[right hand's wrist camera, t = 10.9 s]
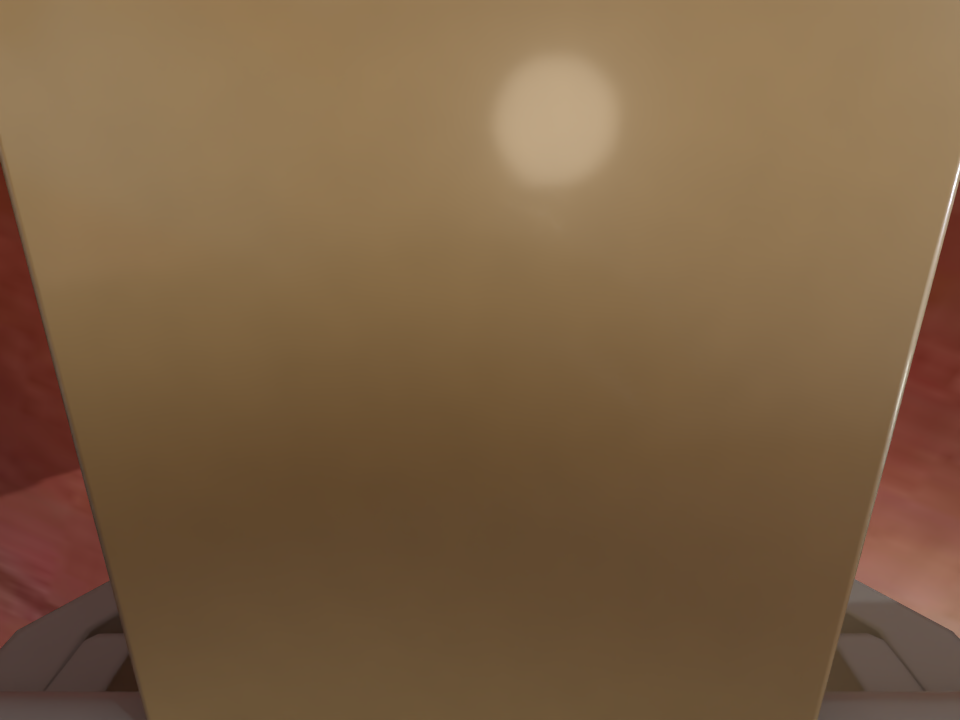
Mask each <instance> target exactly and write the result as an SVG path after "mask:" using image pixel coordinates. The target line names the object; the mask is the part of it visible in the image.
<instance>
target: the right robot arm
mask: <svg viewBox="0 0 960 720" xmlns="http://www.w3.org/2000/svg"><path fill="white" fill-rule="evenodd" d="M0 720H146V717H145V713H144V709H143V705H142V701H141V698H140V694H139V690H138V686H137V682H136V678H135V675H134V671H133V667H132V663H131V659H130V655H129V652H128V648H127V644H126V640H125V636H124V633H123V629H122V625H121V621H120V617H119V613H118V610H117V606H116V602H115V598H114V594H113V590H112V587H111V583H110V581H108V582H106V583H105V584H103V585H101V586H99V587H97V588H95V589H93V590H92V591H90V592H88V593H86V594H84V595H82V596H80V597H79V598H77V599H75V600H73V601H71V602H69V603H67V604H66V605H64V606H62V607H60V608H58V609H56V610H54V611H53V612H51V613H49V614H47V615H45V616H43V617H41V618H40V619H38V620H36V621H34V622H32V623H30V624H28V625H26V626H25V627H23V628H21V629H19V630H17V631H16V632H15V633H14V634H13V636H12V637H11V638H10V639H9V640H8V641H7V642H6V643H5V644H4V646H3V647H2V648H1V649H0ZM818 720H960V639H959V638H958V637H957V636H956V635H955V634H954V633H953V632H952V631H951V630H949V629H947V628H945V627H943V626H941V625H939V624H937V623H936V622H934V621H932V620H930V619H928V618H926V617H924V616H923V615H921V614H919V613H917V612H915V611H913V610H911V609H909V608H908V607H906V606H904V605H902V604H900V603H898V602H896V601H894V600H893V599H891V598H889V597H887V596H885V595H883V594H881V593H879V592H878V591H876V590H874V589H872V588H870V587H868V586H866V585H865V584H863V583H861V582H859V581H857V580H855V579H854V583H853V586H852V590H851V594H850V598H849V602H848V605H847V609H846V613H845V617H844V621H843V625H842V628H841V632H840V636H839V640H838V644H837V647H836V651H835V655H834V659H833V663H832V666H831V670H830V674H829V678H828V682H827V685H826V689H825V693H824V697H823V701H822V704H821V708H820V712H819V716H818Z"/></svg>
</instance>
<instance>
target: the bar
mask: <svg viewBox="0 0 960 720" xmlns="http://www.w3.org/2000/svg"><path fill="white" fill-rule="evenodd" d="M0 162H1V165H2V169H3V173H4V177H5V181H6V185H7V188H8V192H9V196H10V200H11V204H12V208H13V211H14V215H15V219H16V223H17V227H18V231H19V234H20V238H21V242H22V246H23V250H24V253H25V257H26V261H27V265H28V269H29V273H30V276H31V280H32V284H33V288H34V292H35V296H36V299H37V303H38V307H39V311H40V315H41V319H42V322H43V326H44V330H45V334H46V338H47V342H48V345H49V349H50V353H51V357H52V361H53V365H54V368H55V372H56V376H57V380H58V384H59V387H60V391H61V395H62V399H63V403H64V407H65V410H66V414H67V418H68V422H69V426H70V430H71V433H72V437H73V441H74V445H75V449H76V453H77V456H78V460H79V464H80V468H81V472H82V476H83V479H84V483H85V487H86V491H87V495H88V499H89V502H90V506H91V510H92V514H93V518H94V521H95V525H96V529H97V533H98V537H99V541H100V544H101V548H102V552H103V556H104V560H105V564H106V567H107V571H108V575H109V579H110V583H111V587H112V590H113V594H114V598H115V602H116V606H117V610H118V613H119V617H120V621H121V625H122V629H123V633H124V636H125V640H126V644H127V648H128V652H129V655H130V659H131V663H132V667H133V671H134V675H135V678H136V682H137V686H138V690H139V694H140V698H141V701H142V705H143V709H144V713H145V717H146V720H818V716H819V712H820V708H821V704H822V701H823V697H824V693H825V689H826V685H827V682H828V678H829V674H830V670H831V666H832V663H833V659H834V655H835V651H836V647H837V644H838V640H839V636H840V632H841V628H842V625H843V621H844V617H845V613H846V609H847V605H848V602H849V598H850V594H851V590H852V586H853V583H854V579H855V575H856V571H857V567H858V564H859V560H860V556H861V552H862V548H863V545H864V541H865V537H866V533H867V529H868V526H869V522H870V518H871V514H872V510H873V507H874V503H875V499H876V495H877V491H878V488H879V484H880V480H881V476H882V472H883V469H884V465H885V461H886V457H887V453H888V450H889V446H890V442H891V438H892V434H893V431H894V427H895V423H896V419H897V415H898V411H899V408H900V404H901V400H902V396H903V392H904V389H905V385H906V381H907V377H908V373H909V370H910V366H911V362H912V358H913V354H914V351H915V347H916V343H917V339H918V335H919V332H920V328H921V324H922V320H923V316H924V313H925V309H926V305H927V301H928V297H929V294H930V290H931V286H932V282H933V278H934V275H935V271H936V267H937V263H938V259H939V256H940V252H941V248H942V244H943V240H944V237H945V233H946V229H947V225H948V221H949V217H950V214H951V210H952V206H953V202H954V198H955V195H956V191H957V187H958V183H959V179H960V0H0Z"/></svg>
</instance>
